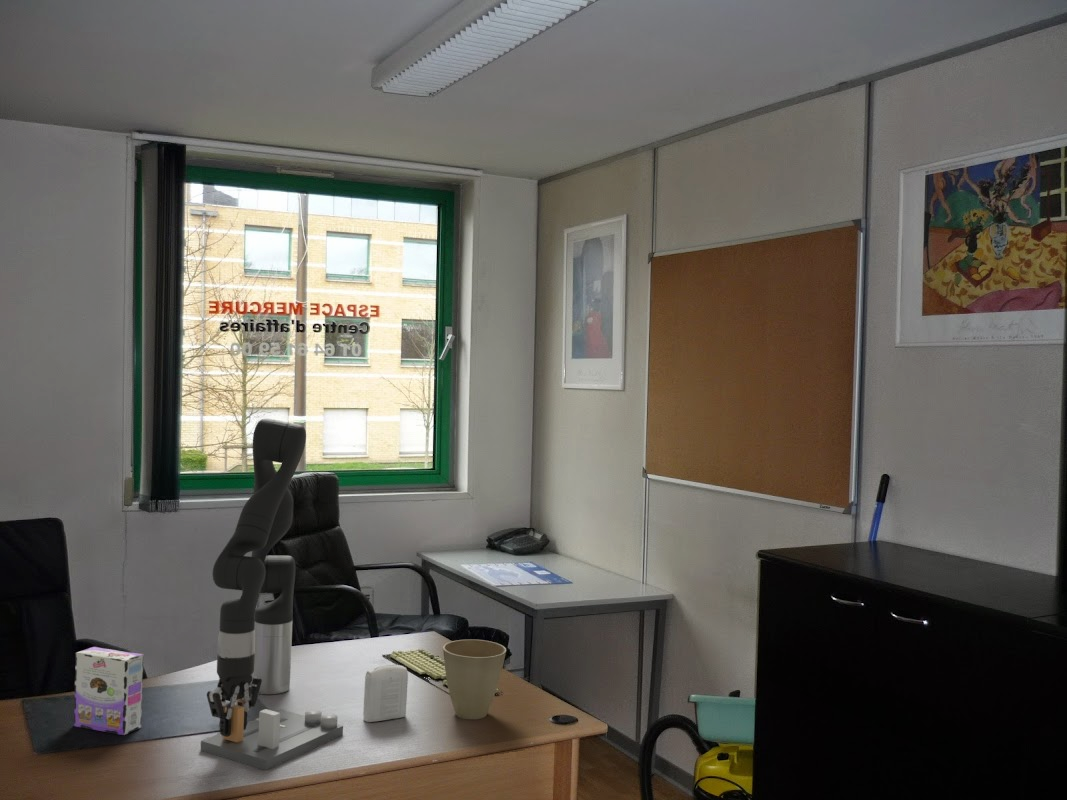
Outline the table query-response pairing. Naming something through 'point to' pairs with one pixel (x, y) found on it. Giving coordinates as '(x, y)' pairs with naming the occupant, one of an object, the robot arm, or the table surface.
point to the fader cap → (236, 724)
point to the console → (276, 737)
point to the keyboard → (422, 665)
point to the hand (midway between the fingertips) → (233, 732)
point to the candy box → (108, 690)
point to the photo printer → (385, 693)
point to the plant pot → (473, 675)
